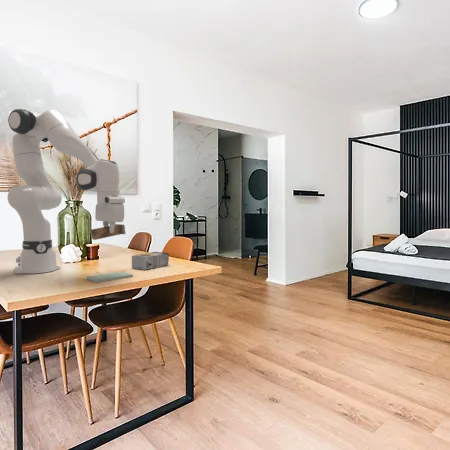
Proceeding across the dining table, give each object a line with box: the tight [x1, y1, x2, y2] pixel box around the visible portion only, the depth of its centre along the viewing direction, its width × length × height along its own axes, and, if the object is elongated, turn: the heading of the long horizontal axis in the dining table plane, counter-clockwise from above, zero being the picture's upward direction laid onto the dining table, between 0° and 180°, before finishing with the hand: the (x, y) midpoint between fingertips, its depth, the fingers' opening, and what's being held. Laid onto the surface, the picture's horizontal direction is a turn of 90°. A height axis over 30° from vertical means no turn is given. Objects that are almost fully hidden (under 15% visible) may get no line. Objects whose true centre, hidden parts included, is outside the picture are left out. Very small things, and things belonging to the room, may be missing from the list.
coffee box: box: [131, 251, 170, 271], centre depth 175 cm, size 9×6×16 cm
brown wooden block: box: [90, 223, 126, 241], centre depth 147 cm, size 13×6×4 cm, turn 137°
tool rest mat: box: [86, 271, 134, 283], centre depth 149 cm, size 9×16×1 cm, turn 132°
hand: (109, 232), depth 148 cm, fingers closed on brown wooden block, 3 cm apart
